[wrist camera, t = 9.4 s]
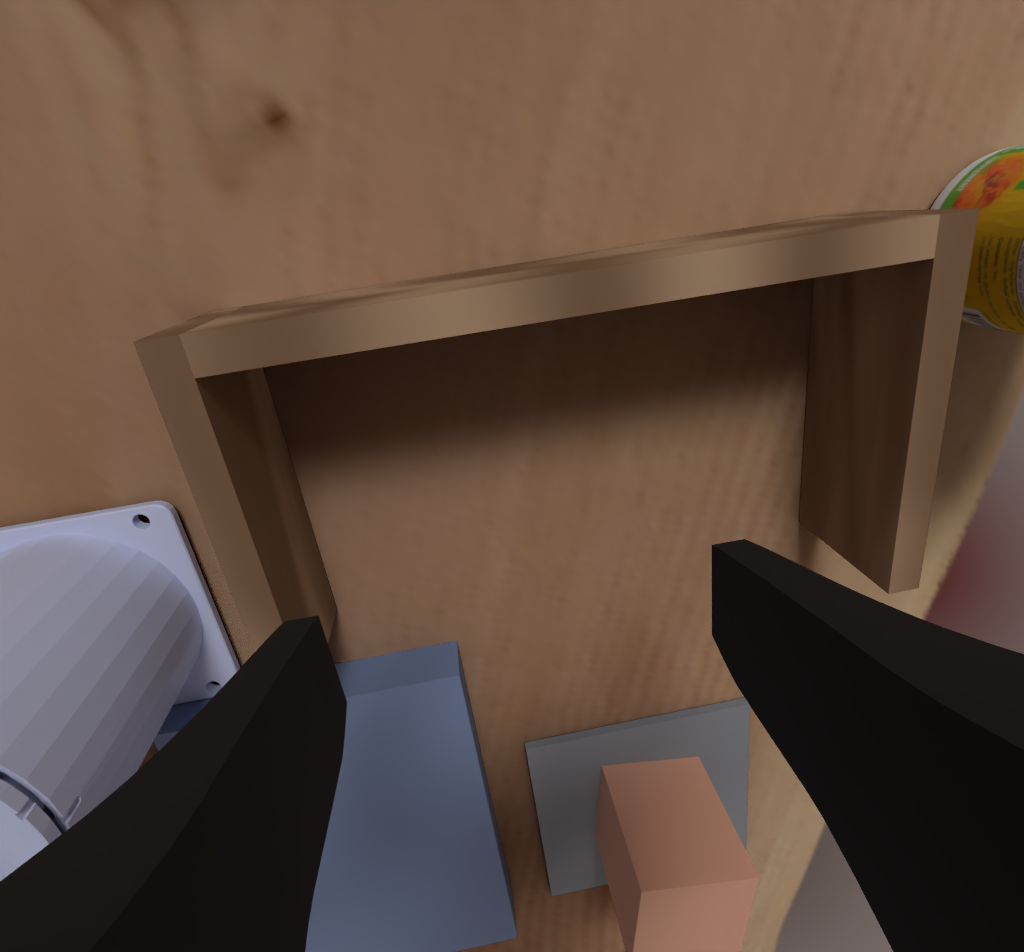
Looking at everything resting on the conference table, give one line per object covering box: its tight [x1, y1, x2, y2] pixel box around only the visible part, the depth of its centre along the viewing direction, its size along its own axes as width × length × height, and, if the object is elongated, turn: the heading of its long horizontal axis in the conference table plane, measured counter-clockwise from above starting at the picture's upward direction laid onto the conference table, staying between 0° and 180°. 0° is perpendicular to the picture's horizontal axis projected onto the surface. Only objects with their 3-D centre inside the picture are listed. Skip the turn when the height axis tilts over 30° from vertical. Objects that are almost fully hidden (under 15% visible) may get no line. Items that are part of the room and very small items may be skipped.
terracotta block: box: [595, 757, 760, 952], centre depth 25 cm, size 4×4×6 cm
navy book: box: [153, 641, 518, 952], centre depth 26 cm, size 16×11×2 cm
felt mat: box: [525, 698, 750, 896], centre depth 28 cm, size 10×10×1 cm
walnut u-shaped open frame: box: [133, 208, 979, 653], centre depth 18 cm, size 20×11×5 cm, turn 98°
